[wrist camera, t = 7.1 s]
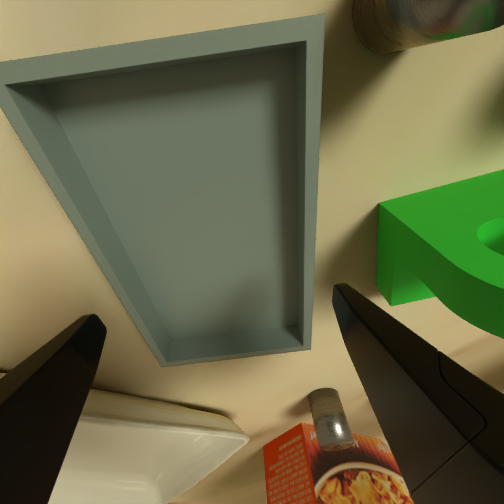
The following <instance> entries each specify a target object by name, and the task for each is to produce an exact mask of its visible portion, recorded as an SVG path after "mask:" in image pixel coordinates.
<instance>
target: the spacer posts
mask: <svg viewBox="0 0 504 504" xmlns="http://www.w3.org/2000/svg"><path fill="white" fill-rule="evenodd" d="M352 11H353V21H354V26H355V30H356V32H357V35H358V37H359V38H360V40H361V42H362V43H363V44H364V45H365V46H366V47H367V48H369V49H370V50H372V51H374V52H377V53H391V52H396V51H400V50H404V49H409V48H413V47H418V46H422V45H427V44H431V43H436V42H440V41H445V40H449V39H454V38H458V37H463V36H467V35H472V34H476V33H481V32H485V31H489V30H492V29H495V28H498V27H500V26H502V25H504V0H353V7H352ZM308 400H309V405H310V409H311V413H312V418H313V422H314V426H315V431H316V435H317V439H318V444H319V448H320V449H321V450H324V451H338V450H343V449H346V448H349V447H351V446H352V445H353V444H354V440H353V437H352V434H351V431H350V428H349V425H348V422H347V419H346V416H345V413H344V410H343V407H342V404H341V401H340V398H339V395H338V392H337V391H336V390H334V389H330V388H324V389H319V390H316V391H313V392H312V393H310V394H309V396H308Z"/></svg>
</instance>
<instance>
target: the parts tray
mask: <svg viewBox="0 0 504 504" xmlns="http://www.w3.org/2000/svg"><path fill="white" fill-rule="evenodd" d="M324 27H325V14H319V15H312V16H305V17H299V18H292V19H285V20H278V21H272V22H265V23H258V24H252V25H245V26H238V27H232V28H225V29H218V30H211V31H205V32H198V33H191V34H185V35H178V36H171V37H165V38H158V39H151V40H144V41H138V42H131V43H124V44H118V45H111V46H104V47H98V48H91V49H84V50H77V51H71V52H64V53H57V54H51V55H44V56H37V57H31V58H24V59H17V60H10V61H4V62H0V108H1V109H2V111H3V112H4V114H5V116H6V117H7V119H8V120H9V122H10V124H11V125H12V127H13V129H14V130H15V132H16V133H17V135H18V137H19V138H20V140H21V141H22V143H23V145H24V146H25V148H26V149H27V151H28V153H29V154H30V156H31V158H32V159H33V161H34V162H35V164H36V166H37V167H38V169H39V170H40V172H41V174H42V175H43V177H44V178H45V180H46V182H47V183H48V185H49V187H50V188H51V190H52V191H53V193H54V195H55V196H56V198H57V199H58V201H59V203H60V204H61V206H62V208H63V209H64V211H65V212H66V214H67V216H68V217H69V219H70V220H71V222H72V224H73V225H74V227H75V228H76V230H77V232H78V233H79V235H80V237H81V238H82V240H83V241H84V243H85V245H86V246H87V248H88V249H89V251H90V253H91V254H92V256H93V257H94V259H95V261H96V262H97V264H98V266H99V267H100V269H101V270H102V272H103V274H104V275H105V277H106V278H107V280H108V282H109V283H110V285H111V286H112V288H113V290H114V291H115V293H116V295H117V296H118V298H119V299H120V301H121V303H122V304H123V306H124V307H125V309H126V311H127V312H128V314H129V315H130V317H131V319H132V320H133V322H134V324H135V325H136V327H137V328H138V330H139V332H140V333H141V335H142V336H143V338H144V340H145V341H146V343H147V344H148V346H149V348H150V349H151V351H152V353H153V354H154V356H155V357H156V359H157V361H158V362H159V364H160V365H161V367H168V366H177V365H185V364H194V363H202V362H211V361H219V360H228V359H236V358H245V357H253V356H262V355H270V354H279V353H287V352H296V351H304V350H311V336H312V312H313V288H314V265H315V241H316V217H317V193H318V170H319V146H320V122H321V98H322V75H323V51H324Z"/></svg>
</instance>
